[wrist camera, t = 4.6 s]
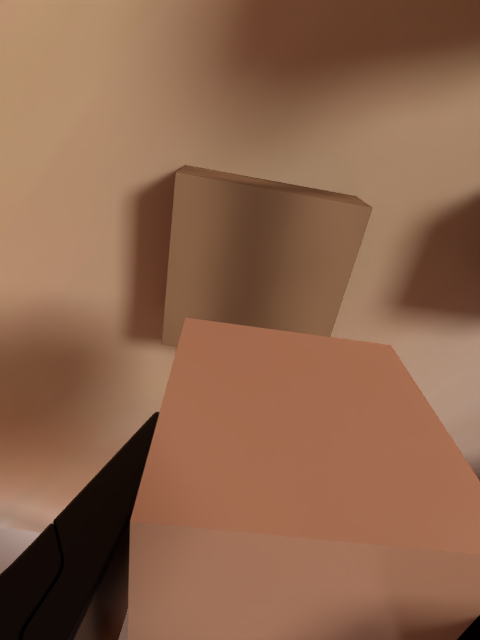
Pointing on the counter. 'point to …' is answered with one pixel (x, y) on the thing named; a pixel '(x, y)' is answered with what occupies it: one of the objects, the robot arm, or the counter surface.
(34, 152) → the counter surface
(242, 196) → the walnut slab
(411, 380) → the terracotta cube
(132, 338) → the counter surface
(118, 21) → the counter surface
